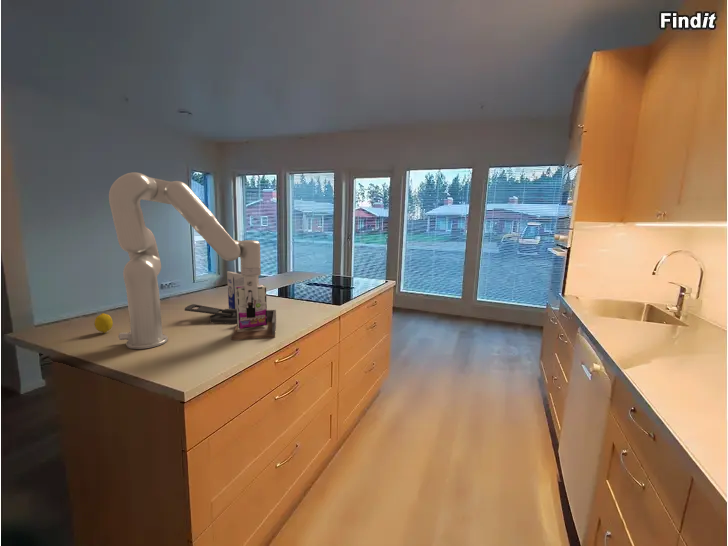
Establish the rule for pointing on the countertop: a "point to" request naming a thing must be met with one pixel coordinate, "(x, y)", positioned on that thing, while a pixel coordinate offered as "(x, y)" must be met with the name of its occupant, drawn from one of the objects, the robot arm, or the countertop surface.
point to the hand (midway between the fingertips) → (251, 314)
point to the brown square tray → (258, 329)
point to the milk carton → (234, 287)
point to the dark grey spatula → (216, 313)
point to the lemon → (103, 323)
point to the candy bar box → (258, 305)
